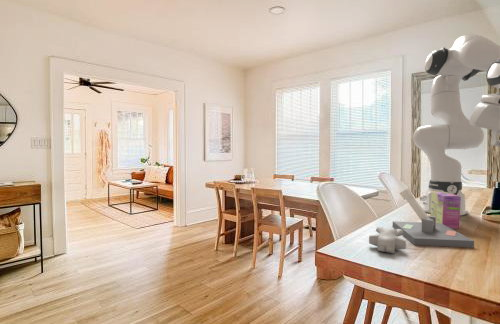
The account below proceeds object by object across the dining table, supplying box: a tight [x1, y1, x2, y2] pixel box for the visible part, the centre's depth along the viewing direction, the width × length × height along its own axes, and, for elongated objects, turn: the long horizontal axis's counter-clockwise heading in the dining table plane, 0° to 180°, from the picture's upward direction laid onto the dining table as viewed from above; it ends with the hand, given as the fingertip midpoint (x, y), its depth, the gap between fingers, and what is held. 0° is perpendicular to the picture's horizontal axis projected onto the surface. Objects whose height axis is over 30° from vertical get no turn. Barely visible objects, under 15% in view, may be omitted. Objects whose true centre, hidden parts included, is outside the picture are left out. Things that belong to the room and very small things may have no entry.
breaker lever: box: [399, 188, 435, 227], centre depth 96 cm, size 3×4×14 cm
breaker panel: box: [392, 215, 475, 249], centre depth 94 cm, size 20×16×6 cm
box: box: [430, 191, 461, 230], centre depth 108 cm, size 10×6×12 cm, turn 168°
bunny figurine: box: [368, 226, 407, 254], centre depth 85 cm, size 10×5×15 cm
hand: (496, 145), depth 90 cm, fingers closed
